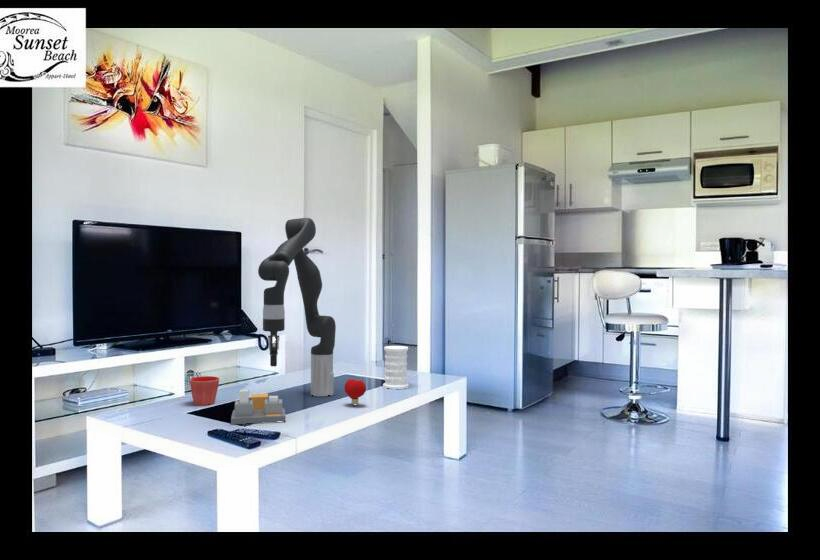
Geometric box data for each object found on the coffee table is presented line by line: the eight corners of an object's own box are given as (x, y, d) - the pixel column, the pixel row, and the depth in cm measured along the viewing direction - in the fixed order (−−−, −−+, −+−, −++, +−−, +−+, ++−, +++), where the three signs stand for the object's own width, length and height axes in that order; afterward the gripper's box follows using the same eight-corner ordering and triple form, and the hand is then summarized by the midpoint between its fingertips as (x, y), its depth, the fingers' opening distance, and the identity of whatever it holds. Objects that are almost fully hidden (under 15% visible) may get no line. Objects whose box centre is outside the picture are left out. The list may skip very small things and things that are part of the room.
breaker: (248, 404, 208) (248, 389, 208) (248, 406, 205) (248, 391, 205) (239, 405, 207) (240, 389, 207) (239, 407, 205) (239, 391, 204)
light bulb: (369, 405, 230) (370, 379, 230) (358, 408, 224) (358, 382, 224) (351, 402, 235) (351, 377, 235) (339, 405, 229) (340, 379, 229)
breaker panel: (284, 413, 216) (284, 397, 215) (285, 422, 204) (285, 404, 204) (233, 415, 211) (233, 399, 211) (230, 424, 200) (231, 406, 200)
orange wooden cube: (267, 407, 224) (267, 393, 224) (267, 411, 218) (267, 396, 218) (251, 408, 222) (251, 394, 222) (250, 412, 217) (250, 397, 217)
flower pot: (221, 404, 228) (222, 379, 228) (192, 407, 223) (192, 382, 222) (216, 399, 237) (216, 375, 237) (187, 402, 232) (187, 377, 232)
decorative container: (380, 389, 261) (380, 348, 261) (386, 384, 273) (386, 345, 272) (406, 390, 259) (406, 349, 259) (410, 385, 271) (411, 346, 270)
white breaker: (277, 411, 211) (277, 395, 210) (277, 413, 208) (277, 397, 207) (269, 411, 210) (269, 396, 210) (269, 413, 207) (269, 397, 207)
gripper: (285, 318, 203) (285, 368, 204) (283, 315, 216) (283, 362, 217) (262, 319, 202) (262, 369, 202) (262, 315, 215) (262, 363, 215)
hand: (273, 365), depth 209 cm, fingers closed
